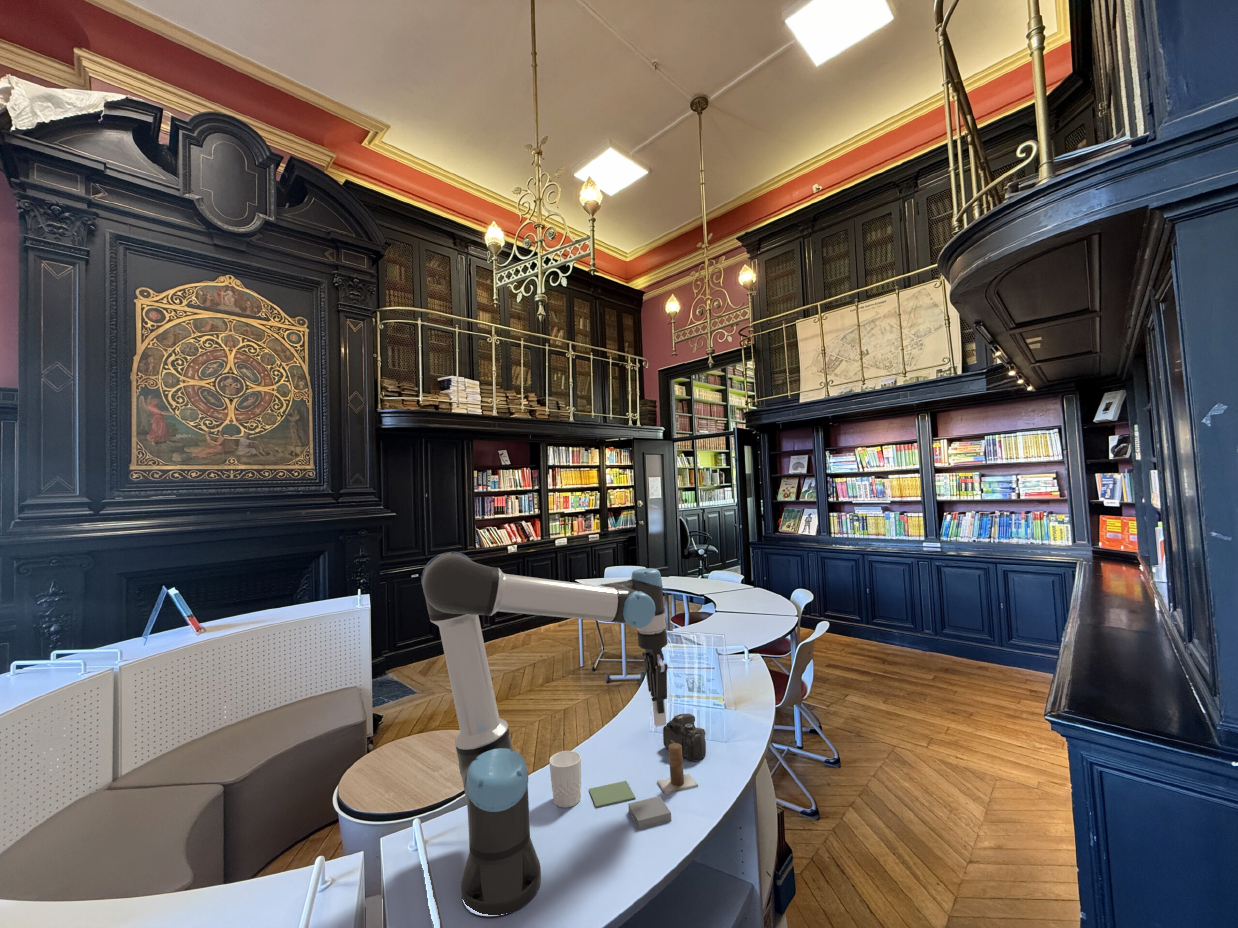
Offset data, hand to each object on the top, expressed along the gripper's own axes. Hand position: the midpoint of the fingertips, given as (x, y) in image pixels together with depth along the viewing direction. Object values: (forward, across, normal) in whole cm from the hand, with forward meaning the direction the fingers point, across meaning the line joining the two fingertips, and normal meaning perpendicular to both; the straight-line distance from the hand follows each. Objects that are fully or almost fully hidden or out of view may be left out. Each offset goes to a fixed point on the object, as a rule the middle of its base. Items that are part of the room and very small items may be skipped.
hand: (660, 724), depth 129 cm
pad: (+16, +4, +13) cm, 21 cm away
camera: (+17, +17, -12) cm, 27 cm away
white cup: (+16, +6, +24) cm, 30 cm away
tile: (+16, -4, +7) cm, 18 cm away
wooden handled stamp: (+17, +2, -4) cm, 17 cm away
